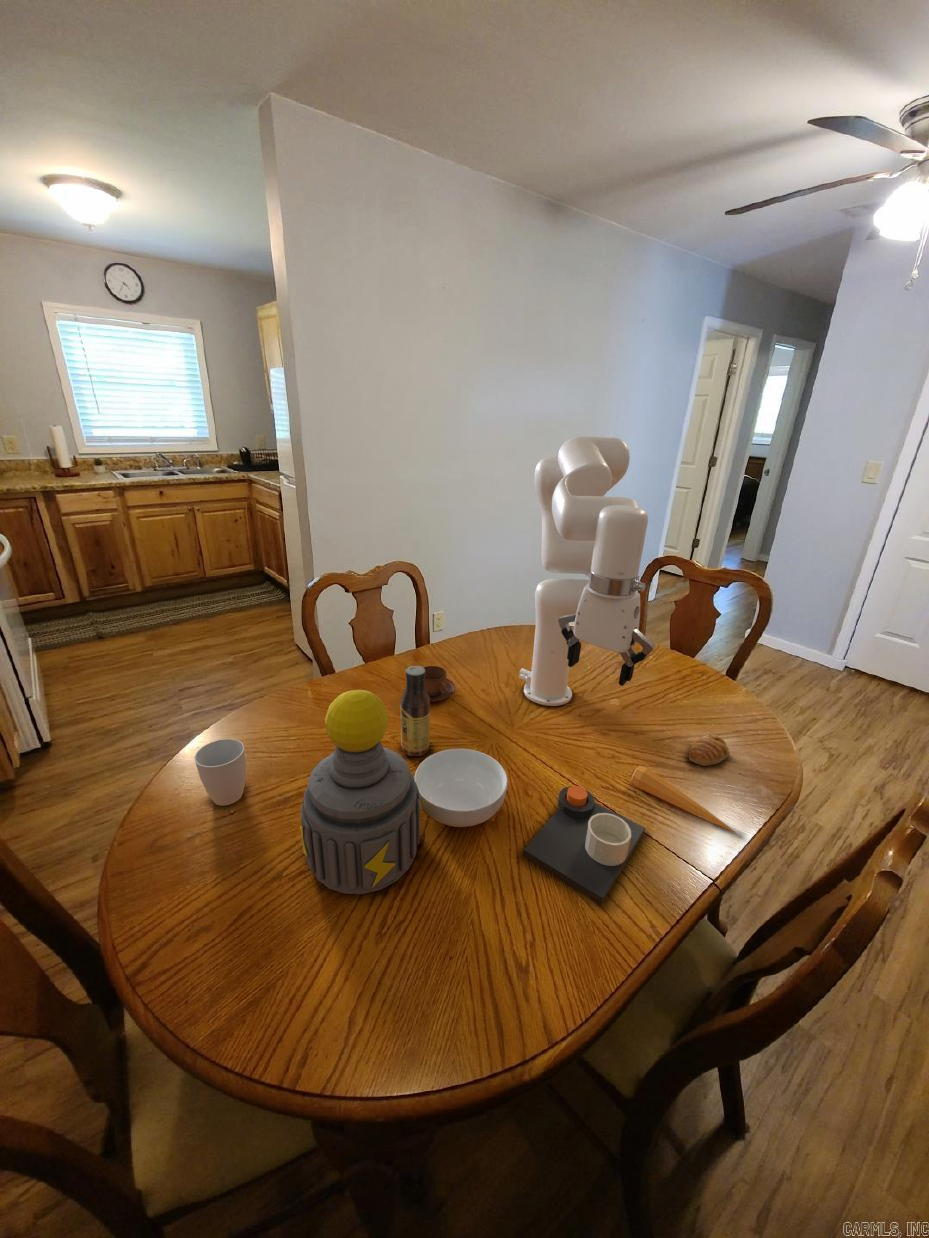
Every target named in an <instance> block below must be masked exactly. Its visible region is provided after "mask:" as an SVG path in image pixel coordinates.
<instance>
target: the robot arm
mask: <svg viewBox="0 0 929 1238" xmlns="http://www.w3.org/2000/svg"><path fill="white" fill-rule="evenodd" d="M630 455H631V454H630V449H629V447H628V445H627V443H626V442H625V441H624V440H622V439H621V438H618V437H609V436H608V437H606V436H605V437H603V436H575V437H571V438H569V439H567V440H566V441H565V442H563V444H562V445H561V446H560V448H559V450H558V453H557V456H549V457H545V458H542V459H541V460H539V461H538V463H537V464H536V466H535V469H534V480H533V481H534V491H535V494H536V495H535V496H536V499H537V503H538V506H539V510H540V514H541V564H542V567H543V569H544V570H545V571H546V572H548V573H555V574H570V575H571V574H572V575H575V574H576V575H584V576H585V578H586V579H585V578H584V579H582V578H580V579H579V578H578V579H577V578H575V579H574V578H548V579H544V580H542V581H540V582H539V583H538V584H537V585H536V586H535V590H534V606H535V627H534V628H535V629H534V641H533V650H532V660H531V661H532V663H531V671H530V670H528V669H525V668H523V667H522V668H520V670H519V675H518V679H519V680H521V681H525V684H524V686H523V694H524V696H525V697H526V698H527V699H528V700H529V701H531V702H532V703H535V704H537V705H541V706H547V707H558V706H563V705H566V704H568V703H569V702H570V701H571V700H572V698H573V691H572V689H571V687H569V686H568V681H569V675H570V668H573V667H574V666H576V664H578V663H579V662H580V656H581V650H582V642H583V643H586V644H590V645H592V646H595V647H599V648H602V649H604V650H608V651H611V652H613V653H614V652H615V653H618V654H619V655H620V656H621V658H622V660H623V662H624V663H622V665H621V668H620V674H619V678H618V685H619V686H621V687H623V686H624V685H625V684H626V683H627V682H631V681H632V678H633V676H634V670H635V666H636V664H638V663H640V662H642V661H644V660H645V659H646V658H648V656H649V655H650V654H651V653H652V652H653V651H654V650H655V649H656V644H655V643H654V642H653V641H652V640H651V639H649V638H648V637H647V636H646V635H644V634H643V633H642V632H641V631H640V630H639V628H640V619H641V594H640V593H639V592H642V593H643V592H644V591H645V589H646V583H644V582H642V581H640V575H639V573H640V567H641V561H642V558H643V557H642V556H643V551H644V545H645V541H646V535H647V530H648V524H649V515H648V513H647V512H646V511H645V510H644V509H642V508H640V506H639V505H640V504H638V502H637V501H636V500H635V499H633V498H631V497H623V496H605V495H606V494H607V493H608V492H609V491H610V490H611V489H612V488H613V487H614V486H616V485H617V484H618V483H619V482H620V481H621V480H622V479H623V478H624V476H625V475H626V473H627V471H628V470H629V465H630V460H631V459H630V458H631V457H630ZM570 623H574V624H573V629H572V628H571V626H570ZM636 644H638V645H639V646H641V648H642V649H641V650H640V651H638V652H636V650H635V649H634V647H633V646H635V645H636Z"/></svg>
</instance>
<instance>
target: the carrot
mask: <svg viewBox="0 0 929 1238" xmlns="http://www.w3.org/2000/svg"><path fill="white" fill-rule="evenodd" d="M630 777H631V783H632V784H633V785H634V786H635V787H636V788H637V789H638V790H641V791H644V792H646V793H647V794H650V795H652V796H654V797H656V798H657V799H660V800H662V801H665V802H667V803H668V804H671V805H673V806H674V807H677V808H679V809H681V810H684V811H685V812H688V813H689V814H692V815H694V816H696V817H698V818H700V819H703V820H705V821H706V822H709V823H712V824H714V825H716V826H718V827H720V828H723V829H725V830H728V831H731V832H733V833H735V834H738V833H737V832H736V831H735V829H734V830H733V829H732V828H731V827H730V826H728V825H727V824H726V823H725V822H723V821H722V820H720V818H718V817H717V816H716V815H714V814H713V813H712V812H710V811H709V810H708V809H707V808H705V807H703V806H702V805H700V804H699V803H698V802H696V801H695V800H694V799H692V798H691V797H690V796H688V795H687V794H685V793H684V792H682V791H680V790H679V789H678V788H676V787H675V786H673V785H672V784H671V783H670V782H668V781H667V780H665V779H663V778H662V777H661V776H660V775H658V774H657V773H655V772H654V771H652V770H651V769H650V768H649V767H645V766H641V765H639V766H638V767H636V768H634V769H633V771H632V772H631V775H630Z"/></svg>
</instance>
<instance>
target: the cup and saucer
mask: <svg viewBox="0 0 929 1238" xmlns="http://www.w3.org/2000/svg"><path fill="white" fill-rule="evenodd" d="M423 668H424V669H425V673H426V676H425V679H424V682H425V684H424V685H425V690H426V691H427V693H428V695H429V697H430V703H431V702H433V703H434V702H440V701H441V702H442V701H444V700H446V699H449V698H450V697H451V696H453V694H454V693H455V691H456V685H455V683H454V682H453V681H452V680H450V679H449V678H447V675H448V674H447V673H448V672H447V670H446V669H445V668H443V667H441V666H438V665H437V666H436V665H428V666H423Z"/></svg>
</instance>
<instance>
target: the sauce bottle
mask: <svg viewBox="0 0 929 1238" xmlns="http://www.w3.org/2000/svg"><path fill="white" fill-rule="evenodd" d="M404 672H405V673H404V674H405V675H404V676H405V679H406V681H405V684H406V685H405V689H404V691H403V694H402V697H401V699H400V704H399V705H400V706H399V707H400V709H399V711H400V713H399V714H400V745H401V750H402V753H404V754H405V755H406V756H408V757H414V758H415V757H421V756H424V755H426V754H427V753H428V751H429V749H430V744H431V704H430V703H431V702H430V697H429V695H428V693H427V691H426V690H425V685H424V684H425V682H424V679H425V676H426V673H425V669H424V666H421V665H411V666H408V667H407V668H406V669H405V671H404Z"/></svg>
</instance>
